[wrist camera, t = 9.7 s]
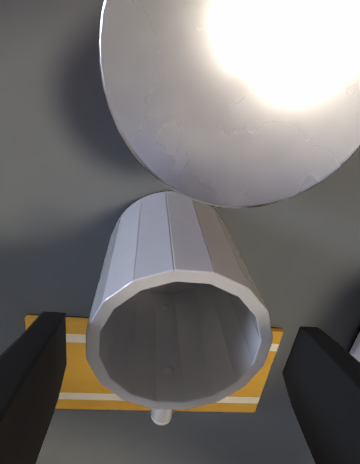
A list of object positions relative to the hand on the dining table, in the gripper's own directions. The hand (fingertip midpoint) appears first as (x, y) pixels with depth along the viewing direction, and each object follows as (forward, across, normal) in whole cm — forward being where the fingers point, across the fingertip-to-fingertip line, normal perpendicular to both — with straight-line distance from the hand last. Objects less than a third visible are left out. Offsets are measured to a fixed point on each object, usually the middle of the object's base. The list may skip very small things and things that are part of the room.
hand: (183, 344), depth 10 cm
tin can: (+6, 0, -8) cm, 10 cm away
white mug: (+6, 0, +1) cm, 6 cm away
